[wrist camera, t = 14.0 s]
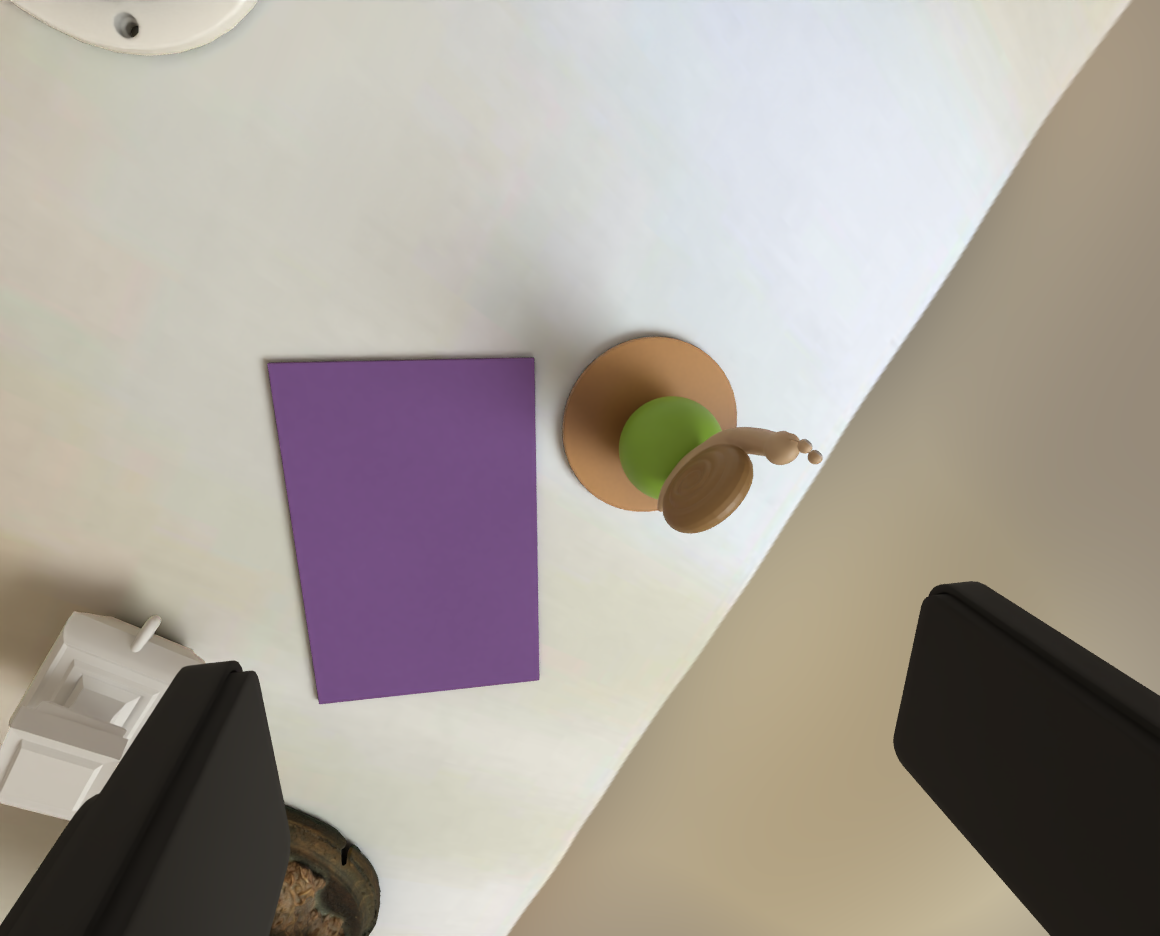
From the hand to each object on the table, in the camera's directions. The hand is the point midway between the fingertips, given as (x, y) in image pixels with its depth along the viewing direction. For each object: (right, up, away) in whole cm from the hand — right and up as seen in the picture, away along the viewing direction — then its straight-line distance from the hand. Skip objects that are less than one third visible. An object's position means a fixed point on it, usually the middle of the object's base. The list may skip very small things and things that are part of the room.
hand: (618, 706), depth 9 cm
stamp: (-25, -7, +26) cm, 36 cm away
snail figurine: (+4, +6, +26) cm, 27 cm away
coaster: (+3, +6, +26) cm, 27 cm away
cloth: (-9, -1, +26) cm, 28 cm away
